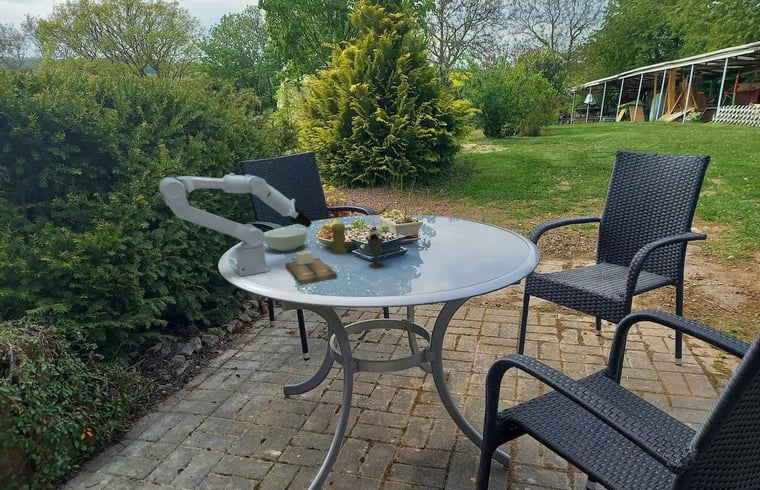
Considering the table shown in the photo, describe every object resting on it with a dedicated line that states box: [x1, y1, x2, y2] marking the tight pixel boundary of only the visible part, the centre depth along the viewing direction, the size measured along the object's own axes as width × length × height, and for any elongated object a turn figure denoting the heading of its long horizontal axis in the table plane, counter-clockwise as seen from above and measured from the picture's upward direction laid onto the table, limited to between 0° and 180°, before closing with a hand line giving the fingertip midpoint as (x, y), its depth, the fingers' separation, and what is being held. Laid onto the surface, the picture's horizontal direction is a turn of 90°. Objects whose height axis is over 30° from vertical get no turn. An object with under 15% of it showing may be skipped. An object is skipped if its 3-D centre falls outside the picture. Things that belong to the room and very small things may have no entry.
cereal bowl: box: [263, 227, 308, 252], centre depth 179 cm, size 17×17×7 cm
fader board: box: [284, 257, 338, 286], centre depth 150 cm, size 12×20×2 cm, turn 25°
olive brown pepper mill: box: [331, 223, 348, 255], centre depth 171 cm, size 6×6×11 cm
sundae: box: [364, 221, 386, 269], centre depth 152 cm, size 7×7×15 cm
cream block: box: [295, 249, 314, 265], centre depth 154 cm, size 5×3×4 cm, turn 115°
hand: (306, 222), depth 160 cm, fingers open, 7 cm apart
